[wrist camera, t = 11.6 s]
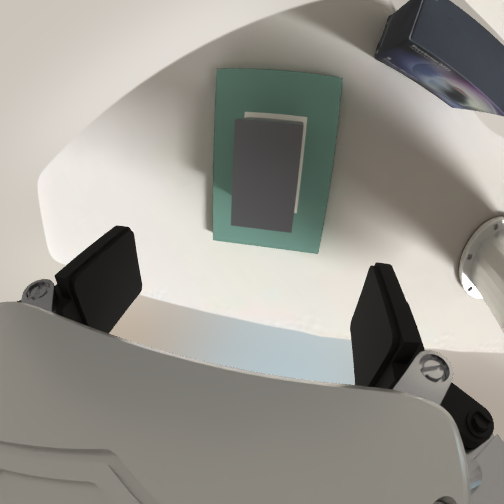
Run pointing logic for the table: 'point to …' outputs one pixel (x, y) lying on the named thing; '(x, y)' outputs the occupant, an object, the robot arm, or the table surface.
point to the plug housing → (265, 173)
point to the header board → (312, 151)
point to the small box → (446, 54)
